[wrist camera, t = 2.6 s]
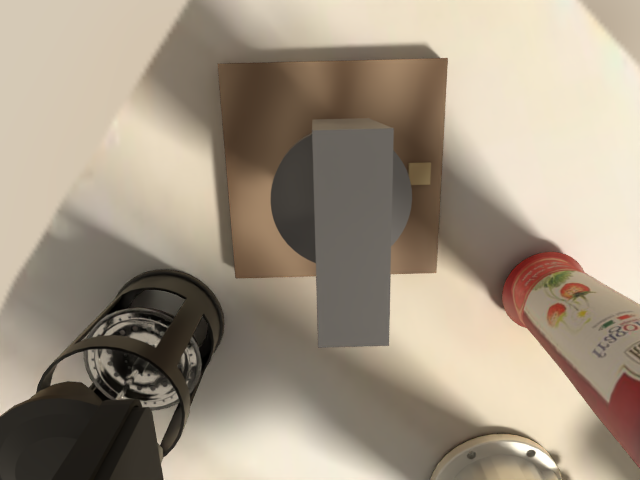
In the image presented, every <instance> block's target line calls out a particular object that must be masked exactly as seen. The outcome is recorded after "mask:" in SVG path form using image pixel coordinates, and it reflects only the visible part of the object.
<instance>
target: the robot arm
mask: <svg viewBox="0 0 640 480" xmlns="http://www.w3.org/2000/svg"><path fill="white" fill-rule="evenodd" d="M52 480H163V474H162V468H161V462H160V456H159V450H158V444H157V438H156V433H155V427H154V421H153V415H152V411H151V409H150V408H149V407H142V404H141V402H140V400H138V399H119V400H105V401H103V402H102V403H101V405H100V406H99V407H98V409H97V411H96V412H95V414H94V415H93V417H92V418H91V420H90V421H89V423H88V424H87V426H86V427H85V429H84V431H83V432H82V434H81V435H80V437H79V438H78V440H77V441H76V443H75V444H74V446H73V447H72V449H71V451H70V452H69V454H68V455H67V457H66V458H65V460H64V461H63V463H62V464H61V466H60V467H59V469H58V470H57V472H56V474H55V475H54V477H53V478H52ZM430 480H562V477H561V473H560V470H559V468H558V467H557V465H556V463H555V461H554V460H553V459H552V457H551V456H550V454H549V453H548V452H547V451H546V450H545V449H544V448H543V447H541V446H540V445H539V444H537V443H535V442H534V441H532V440H530V439H527V438H524V437H521V436H518V435H510V434H491V435H486V436H481V437H477V438H475V439H472V440H469V441H467V442H465V443H463V444H461V445H459V446H457V447H456V448H454V449H453V450H452V451H450V452H449V453H448V454H447V455H446V456H445V457H444V458H443V459H442V460H441V461H440V462H439V463H438V465H437V467H436V468H435V470H434V472H433V474H432V477H431V479H430Z"/></svg>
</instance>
